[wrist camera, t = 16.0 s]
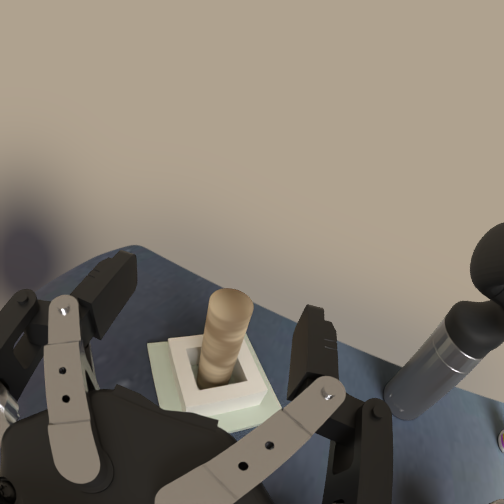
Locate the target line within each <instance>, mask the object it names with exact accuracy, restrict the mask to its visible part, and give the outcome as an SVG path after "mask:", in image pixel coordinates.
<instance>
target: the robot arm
mask: <svg viewBox="0 0 504 504" xmlns="http://www.w3.org/2000/svg"><path fill="white" fill-rule="evenodd" d="M470 275H471V279H472V282H473V284H474V285H475V287H476V288H477V289H478V290H479V291H480V292H481V293H482V294H483V295H485V296H486V297H488V298H489V299H491V300H490V301H486V302H471V301H460V302H458V303H456V304H455V305H454V306H453V307H452V308H451V310H450V311H449V312H448V314H447V315H446V316H445V318H444V319H443V320H442V322H441V323H440V324H439V325H438V327H437V328H436V329H435V331H434V332H433V333H432V334H431V336H430V337H429V338H428V339H427V340H426V342H425V343H424V344H423V345H422V346H421V348H420V349H419V350H418V351H417V352H416V353H415V354H414V356H413V357H412V358H411V359H410V360H409V361H408V362H407V363H406V364H405V366H404V367H403V368H402V369H401V370H400V371H399V372H398V373H397V374H396V375H395V376H394V377H393V378H392V379H391V380H390V381H389V382H388V383H387V385H386V386H385V389H384V400H385V402H384V401H383V400H381V399H378V398H372V399H369V400H367V401H366V402H363V401H361V400H359V399H357V398H354V397H352V396H350V395H349V394H347V393H346V391H345V388H344V386H343V385H342V383H341V382H340V381H339V375H338V353H337V343H336V342H337V336H336V330H335V328H334V326H333V324H332V322H329V321H325V320H324V309H323V308H320V307H316V306H312V305H306V307H305V309H304V311H303V313H302V315H301V317H300V319H299V321H298V323H297V326H296V328H295V331H294V334H293V339H292V351H291V362H290V372H289V382H288V392H287V400H290V401H292V402H291V403H289V404H288V405H287V406H286V407H285V408H283V409H280V410H278V411H277V412H276V413H274V414H273V415H272V416H271V417H269V418H268V419H267V420H266V421H264V422H263V423H262V424H261V425H259V426H258V427H257V428H255V429H254V430H253V431H251V432H250V433H249V434H247V435H246V436H245V437H243V438H242V439H241V440H239V441H238V442H237V441H236V439H235V438H234V437H233V436H231V435H230V434H229V433H228V432H226V431H225V430H223V429H222V428H220V427H218V426H217V425H218V422H219V420H217V419H213V418H209V417H206V416H202V415H199V414H196V413H192V412H181V411H171V410H164V409H162V408H160V407H159V406H157V405H155V404H154V403H152V402H151V401H150V400H148V399H147V398H145V397H144V396H142V395H141V394H139V393H137V392H134V391H132V390H129V389H127V388H125V387H122V386H120V385H118V384H117V385H116V387H115V389H114V390H111V389H99V386H98V383H97V380H96V376H95V370H94V364H93V358H92V351H91V344H90V340H91V339H92V337H95V338H97V339H99V340H101V339H102V338H103V336H104V335H105V333H106V332H107V330H108V329H109V327H110V326H111V324H112V323H113V321H114V320H115V318H116V317H117V315H118V314H119V313H120V311H121V310H122V308H123V307H124V305H125V304H126V302H127V301H128V300H129V298H130V297H131V295H132V294H133V293H134V291H135V289H136V286H137V259H136V255H135V254H132V253H129V252H125V251H122V250H120V251H119V252H118V253H117V254H116V255H115V256H114V257H113V258H107V259H105V260H103V261H101V262H99V263H98V264H97V266H96V267H95V268H94V269H93V270H92V271H91V272H90V273H89V274H88V276H86V277H85V278H84V280H83V281H82V282H81V283H80V284H79V285H78V286H77V287H76V288H75V290H74V291H73V292H72V293H71V294H70V295H62V296H58V297H56V298H55V299H54V300H53V301H52V302H50V301H43V300H37V297H36V295H35V293H34V292H33V291H32V290H29V289H23V290H20V291H18V292H17V293H15V294H14V296H12V298H11V299H10V300H9V301H8V302H7V304H6V305H5V306H4V307H3V308H2V310H1V311H0V447H1V468H0V504H274V502H273V500H272V499H271V497H270V495H269V494H268V492H267V491H266V489H265V487H264V486H263V484H262V481H263V480H264V479H265V478H267V477H268V476H269V475H270V474H272V473H273V472H274V471H275V470H276V469H277V468H279V467H280V466H281V465H282V464H283V463H284V462H285V461H286V460H288V459H289V458H290V457H291V456H292V455H293V454H294V453H295V452H296V451H297V450H298V449H300V448H301V447H302V446H303V445H304V444H305V443H306V442H307V441H308V440H309V439H310V438H311V437H312V435H313V434H314V433H317V434H319V435H321V436H323V437H326V438H328V439H330V450H329V459H328V467H327V474H326V482H325V488H324V495H323V501H322V504H391V501H392V482H393V431H392V414H394V415H395V416H396V417H398V418H399V419H402V420H413V419H415V418H417V417H418V416H420V415H421V414H422V413H424V412H425V411H426V410H427V409H429V408H430V407H431V406H433V405H434V404H435V403H436V402H437V401H439V400H440V399H441V398H442V397H443V396H445V395H446V394H447V393H448V392H449V391H450V390H451V389H453V388H454V387H455V386H456V385H457V384H458V383H459V382H460V381H461V380H462V379H463V378H464V377H465V376H466V375H467V374H468V373H470V371H472V369H473V368H474V367H475V366H476V365H477V364H478V363H479V362H480V361H481V360H482V359H483V358H484V357H485V356H486V355H487V354H488V353H489V352H490V351H491V350H493V349H495V348H497V347H498V346H499V345H501V344H502V343H503V342H504V223H501V224H498V225H496V226H495V227H493V228H492V229H490V230H489V231H488V232H487V233H486V234H485V235H484V236H483V237H482V239H481V240H480V241H479V243H478V244H477V246H476V248H475V250H474V252H473V255H472V258H471V264H470ZM23 331H24V335H23V336H22V338H21V339H20V340H19V342H18V343H17V345H16V346H15V348H14V349H13V347H14V344H15V342H16V341H17V340H18V338H19V337H20V335H21V334H22V332H23ZM43 356H44V372H45V387H46V398H47V407H48V409H47V410H44V411H42V412H39V413H37V414H34V415H32V416H29V417H27V418H24V419H21V420H19V421H17V420H18V419H19V414H18V403H17V401H18V399H19V397H20V395H21V393H22V392H23V390H24V388H25V386H26V384H27V383H28V381H29V379H30V377H31V376H32V374H33V372H34V371H35V369H36V367H37V366H38V364H39V362H40V361H41V359H42V357H43Z"/></svg>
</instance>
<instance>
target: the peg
mask: <svg viewBox="0 0 504 504" xmlns="http://www.w3.org/2000/svg"><path fill="white" fill-rule="evenodd" d="M253 308H254V307H253V302H252V300H251V299H250V298H249V297H248V296H247V295H246V294H245V293H243V292H241V291H239V290H236V289H229V288H225V289H220V290H217V291H215V292H214V293H213V294H212V295H211V297H210V300H209V306H208V312H207V318H206V324H205V330H204V336H203V342H202V348H201V354H200V361H199V367H198V374H197V385H198V387H199V389H200V390H203V389H209V388H215V387H220V386H225V385H228V383H229V381H230V378H231V375H232V372H233V369H234V366H235V363H236V360H237V357H238V354H239V351H240V348H241V345H242V342H243V339H244V336H245V333H246V330H247V327H248V324H249V321H250V318H251V315H252V312H253Z"/></svg>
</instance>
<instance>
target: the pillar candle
mask: <svg viewBox="0 0 504 504" xmlns="http://www.w3.org/2000/svg"><path fill="white" fill-rule="evenodd" d="M489 504H504V499H499V500H496V501H494V502H492V503H489Z"/></svg>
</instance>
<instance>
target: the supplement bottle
mask: <svg viewBox="0 0 504 504" xmlns="http://www.w3.org/2000/svg"><path fill="white" fill-rule="evenodd" d="M498 443H499V447H500V449H501V451H502V452H503V453H504V430H502V431H501V433H500V434H499V438H498Z"/></svg>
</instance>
